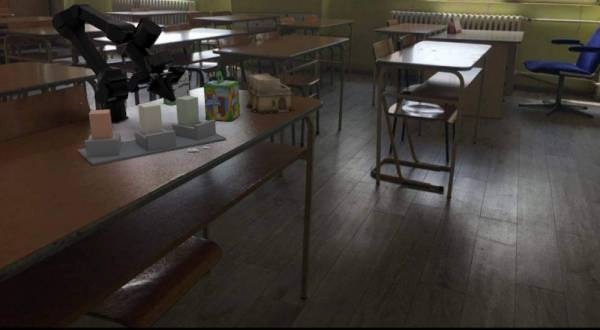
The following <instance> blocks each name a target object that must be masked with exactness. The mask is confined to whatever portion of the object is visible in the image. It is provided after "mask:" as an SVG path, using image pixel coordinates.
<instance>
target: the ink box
mask: <svg viewBox="0 0 600 330" xmlns="http://www.w3.org/2000/svg"><path fill="white" fill-rule="evenodd" d="M168 70H169V69H165V70H164V72H168ZM185 70H186V69H185ZM189 78H190V76H189V70H186V72H185V73H184V75H183V76H182V77H181V79H180V80H179V82H178V83H176V84H172V88H173V92H174V95H175V98H179V97H183V96H191V94H190V79H189ZM162 99H163V102H162V103H163V104H165V105H168V106H176V100H175V102H171V101H169V100H167V99H165V98H163V97H162Z"/></svg>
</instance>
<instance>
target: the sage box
mask: <svg viewBox="0 0 600 330" xmlns="http://www.w3.org/2000/svg"><path fill="white" fill-rule="evenodd" d="M175 106H176V116H177V124H179V125H185V126H190V127H194V125H197V124H199V121H200V113H199V97H198V96H191V95H190V96H183V97H179V98H176V105H175Z"/></svg>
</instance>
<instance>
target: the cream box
mask: <svg viewBox="0 0 600 330" xmlns="http://www.w3.org/2000/svg"><path fill="white" fill-rule="evenodd" d="M137 106H138V107H137V108H138V116H139V126H140V132H142V133H143V134H145V135H148V134H154V133H160V132H163V129H162V128H163V119H162V107H161V106H162V105H161V104H160V103H157V102H154V101H153V102H148V103H140V104H137Z"/></svg>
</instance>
